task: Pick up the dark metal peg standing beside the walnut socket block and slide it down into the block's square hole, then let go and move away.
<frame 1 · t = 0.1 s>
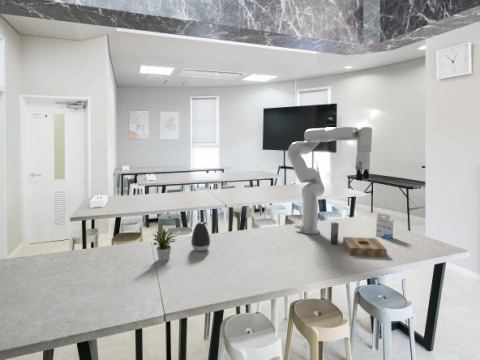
hand: (362, 179, 177), 37 cm above the table, tool pointing down, fingers open, 9 cm apart
ink box: (384, 237, 193), on the table
house plant: (163, 260, 155), on the table
socket: (363, 249, 169), on the table
peg: (334, 243, 180), on the table
dark grey egg shape: (201, 250, 170), on the table
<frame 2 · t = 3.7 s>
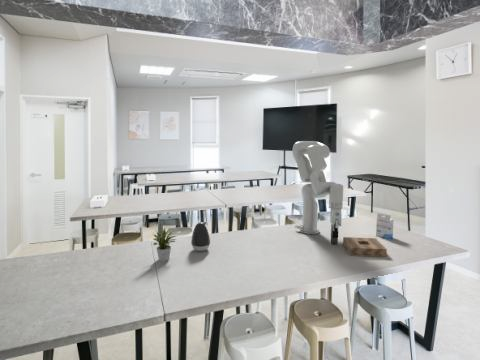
hand: (334, 236, 179), 4 cm above the table, tool pointing down, fingers closed on peg, 4 cm apart
peg: (334, 243, 180), on the table, touching gripper
everything else where it was.
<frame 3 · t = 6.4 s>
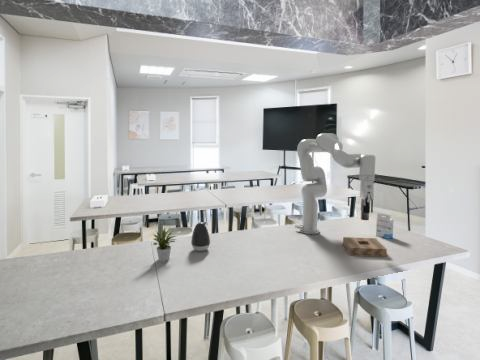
hand: (365, 211, 167), 21 cm above the table, tool pointing down, fingers closed on peg, 4 cm apart
peg: (364, 219, 167), point 17 cm above the table, touching gripper
everything else where it was.
when the fingers open (6 cm above the table, at t = 9.2 s): peg drops 1 cm, resting in socket.
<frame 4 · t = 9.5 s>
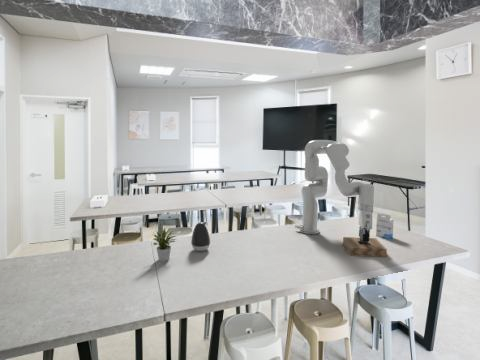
hand: (363, 238, 169), 6 cm above the table, tool pointing down, fingers open, 7 cm apart
peg: (363, 249, 169), resting in socket
everything else where it was.
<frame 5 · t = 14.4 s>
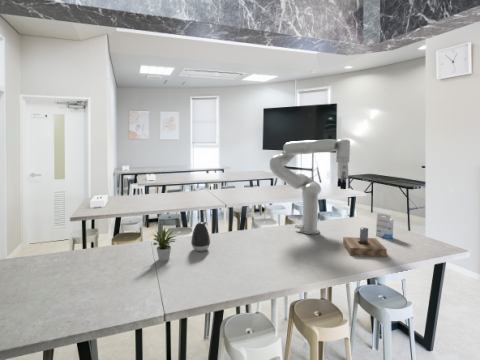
hand: (341, 187, 191), 30 cm above the table, tool pointing down, fingers open, 9 cm apart
nothing on the table moved.
at the end: peg 0.1 cm off-centre on the socket, point 0.0 cm above the socket's base; peg tilted 0°; the gripper is holding nothing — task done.
